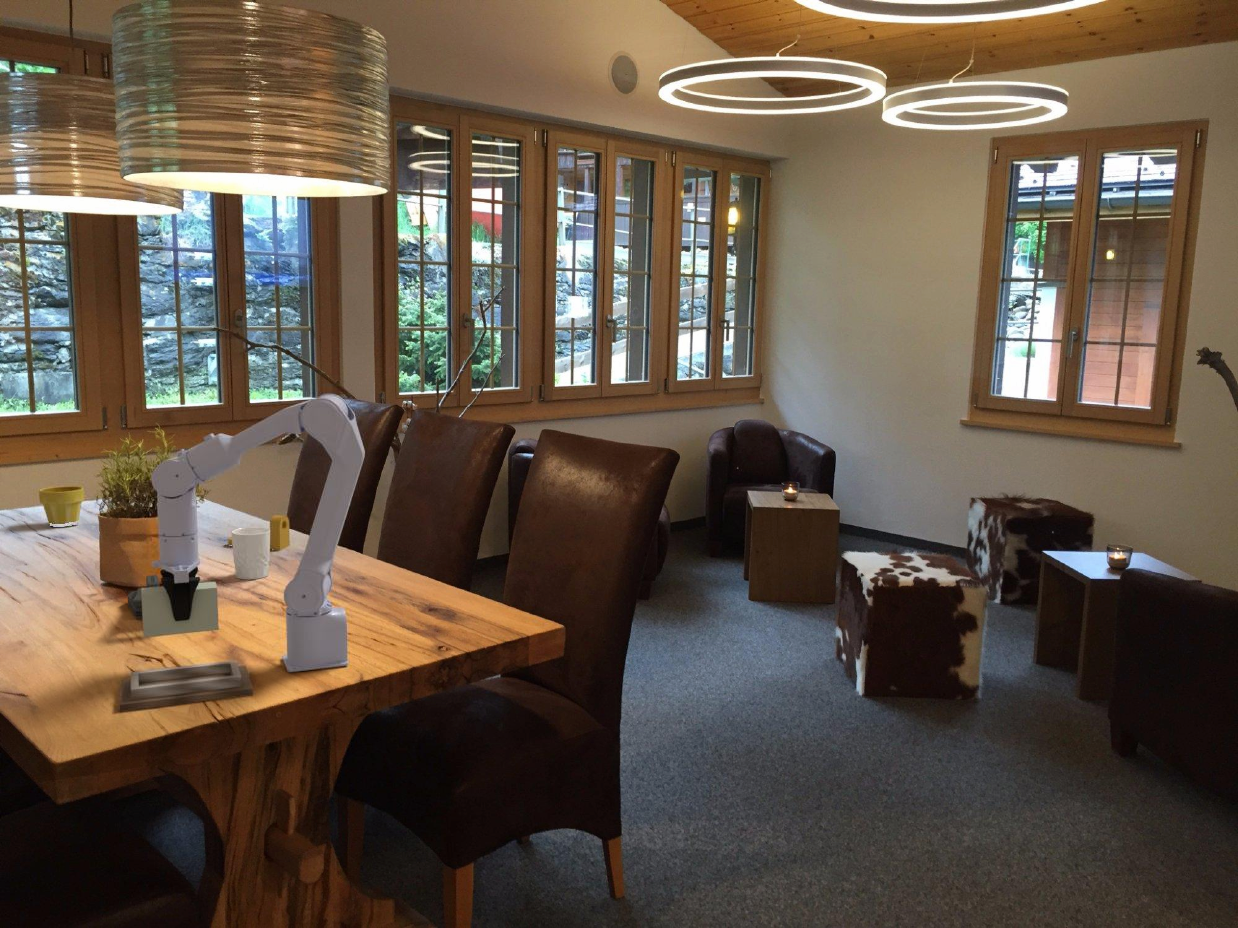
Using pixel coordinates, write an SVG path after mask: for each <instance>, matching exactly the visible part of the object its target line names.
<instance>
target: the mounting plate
mask: <svg viewBox="0 0 1238 928" xmlns="http://www.w3.org/2000/svg"><path fill="white" fill-rule="evenodd" d="M119 683H120V686H119V687H120V688H119V712H125V711H126V712H127V711H134V710H135V711H136V710H141V709H142V710H144V709H151V708H158V707H167V706H174V705H182V704H191V703H198V702H206V701H214V700H215V701H216V700H222V699H232V698H239V697H245V696H246V697H247V696H253V695H254V688H253V684H252V681H251V678H250V674H249V670H248V667H247V665H238V661H237V660H229V661H228V660H227V661H220V662H218V661H217V662H210V663H202V664H192V665H183V666H176V667H165V668H158V669H147V670H146V669H145V670H138V671H130V678H125V679H120V682H119Z"/></svg>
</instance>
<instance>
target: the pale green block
mask: <svg viewBox="0 0 1238 928" xmlns="http://www.w3.org/2000/svg"><path fill="white" fill-rule="evenodd" d="M140 588H141V596H142V616H143V620H142V630H143V631H142V633H143V635H142V636H143V639H145V638H152V637H153V638H154V637H164V636H172V635H173V636H174V635H181V634H182V635H183V634H191V633H192V634H193V633H202V632H211V631H212V632H213V631H219V629H220V628H219V605H218V601H219V600H218V586H217V583H216V581H207V582H199V584H198V586H197V588H196V590H195V593H194V597H193V602H192V609H191V615H190V619H189V620H184V621H175V619H174V616H173V612H172V607H171V603H170V599H169V596H168V594H167V592H166V590H165V588H164V587H163V585H162V586H161V585H159V587H148V588H146V587H140Z"/></svg>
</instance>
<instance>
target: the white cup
mask: <svg viewBox="0 0 1238 928" xmlns="http://www.w3.org/2000/svg"><path fill="white" fill-rule="evenodd" d="M231 537H232V546H233V547H232V555H233V564H234V575H235V578H236V579H240V580H249V581H250V580H258V579H264V578H266V577H268V576H269V570H270V569H269V564H270V554H271V550H270V528H267V527H261V526H258V527H256V526H255V527H253V526H252V527H243V528H242V527H241V528H236V529H233V530H232V531H231Z"/></svg>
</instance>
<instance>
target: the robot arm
mask: <svg viewBox="0 0 1238 928" xmlns="http://www.w3.org/2000/svg"><path fill="white" fill-rule="evenodd" d="M305 432H307V434H309V436H311V437H312V438H314V439H315V440H316V441H317V442H319V443H320V444H321V445H322V446H323V447H324V449H325V451H326V452H327V454H328V455H329V457H330V459H331V464H330V467H329V471H328V474H327V478H326V481H325V484H324V487H323V490H322V494H321V497H320V500H319V503H318V507H317V510H316V514H315V517H314V519H313V523H312V526H311V529H310V533H309V536H308V539H307V543H306V545H305V549H304V553H303V554H302V557H301V560H300V563H299V565H298V567H297V570H296V572H295V574H294V577H293V578H292V579H291V580H290V581H289V583H288V584H287V585H286V586H285V588H284V591H283V601H284V603H285V605H286V607H285V618H286V619H285V620H286V621H285V622H286V627H285V628H286V629H285V631H286V654H282V655H281V659H282V661H283V664H284V665H285V668H286V671H287V672H288V673H295V672H302V671H310V670H311V671H312V670H320V669H329V668H337V667H345V666H349V661H348V660H349V659H348V624H347V622H348V620H347V615H346V611H345V609H344V607H341V606H340V607H339V606H338V607H334V606H333V603H331V602H330V600H329V598H328V597H327V596H328V595H329V593H330V592H331V590H332V588H333V577H332V567H333V565H334V560H335V559H334V558H335V555H336V554H335V553H336V550H337V548H338V544H339V541H340V538H341V535H342V532H343V531H342V530H343V528H344V525H345V520H346V518H347V515H348V511H349V508H350V506H351V502H352V498H353V495H354V492H355V490H356V486H357V482H358V478H359V477H360V473H361V469H362V467H363V463H364V459H365V458H366V456H365V454H366V451H365V447H364V444H363V441H362V437H361V434H360V430H359V427H358V423H357V419H356V414H355V411H353V409H352V408H351V406H349V404H348V402H346V400H345V399H343V397H341V396H339V395H337V394H335V393H325V394H321V395H320V396H318V397H317V398H313V399H309V400H306V401H302V402H300V403H296V404H294V405H291V406H288V407H286V408H283V409H281V410H279V411H277V412H276V413H274V414H272V415H270V416H268V417H266V418H264V419H262V420H260V421H259V422H257V423H255V424H253V425H251V426H250V427H247V428H246V429H245V430H242V431H241V432H239V433H237V434H235V435H228V434H225V433H217V434H216V435H214V433H210V434H208V435H205V436H204V437H203V439H204V441H202V442H200V443H198V444H197V445H194V446H192V447H190V448H189V449H187V450H185V449H184V448H181V449H180V450H178V451H177V452H176V455H177V456H174V457H171V458H169V459H165V460H163V461H162V462H161V463H159V464H158V465H157V466H155V468H154V469H153V471H152V474H151V478H150V479H151V481H150V482H151V484H152V485H151V486H152V487H153V488H154V490H155V491H156V493H157V494H156V495H157V497H156V498H157V507H156V509H157V525H158V527H157V529H158V530H157V532H158V551H159V552H158V553H159V559H157V560H152V561H151V567H152V568H153V569H155V568H156V569H157V568H159V569H160V571H159V572H160V573H159V574H160V575H161V578H160V582H161V585H162V586H163V587H164V588H165V590H166V592H167V594H168V596H169V599H170V603H171V607H172V612H173V616H174V619H175V621H184V620H189V619H190V615H191V609H192V602H193V597H194V593H195V590H196V588H197V586H198V584H199V583H201V582H200V581H201V577H200V576H197V573H198V572H199V568H198V567H199V566H200V565H201V558H200V556H199V555H200V554H199V532H198V510H197V509H198V507H197V501H196V498H197V497H196V493H197V492H196V487H197V486H198V485H199V484H204V483H206V482H209V481H210V480H212V479H214V478H216V477H218V476H220V475H222V474H224V473H226V472H228V471H230V470H231V469H234V468H236V467H238V466H239V465H240V463H241V461H242V456H243V454H244V453H246V452H249V451H250V450H252V449H254V448H257V447H259V446H261V445H263V444H265V443H267V442H269V441H271V440H273V439H276V438H278V437H279V436H282V435H283V434H295V435H296V434H297V435H302V434H305Z"/></svg>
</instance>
